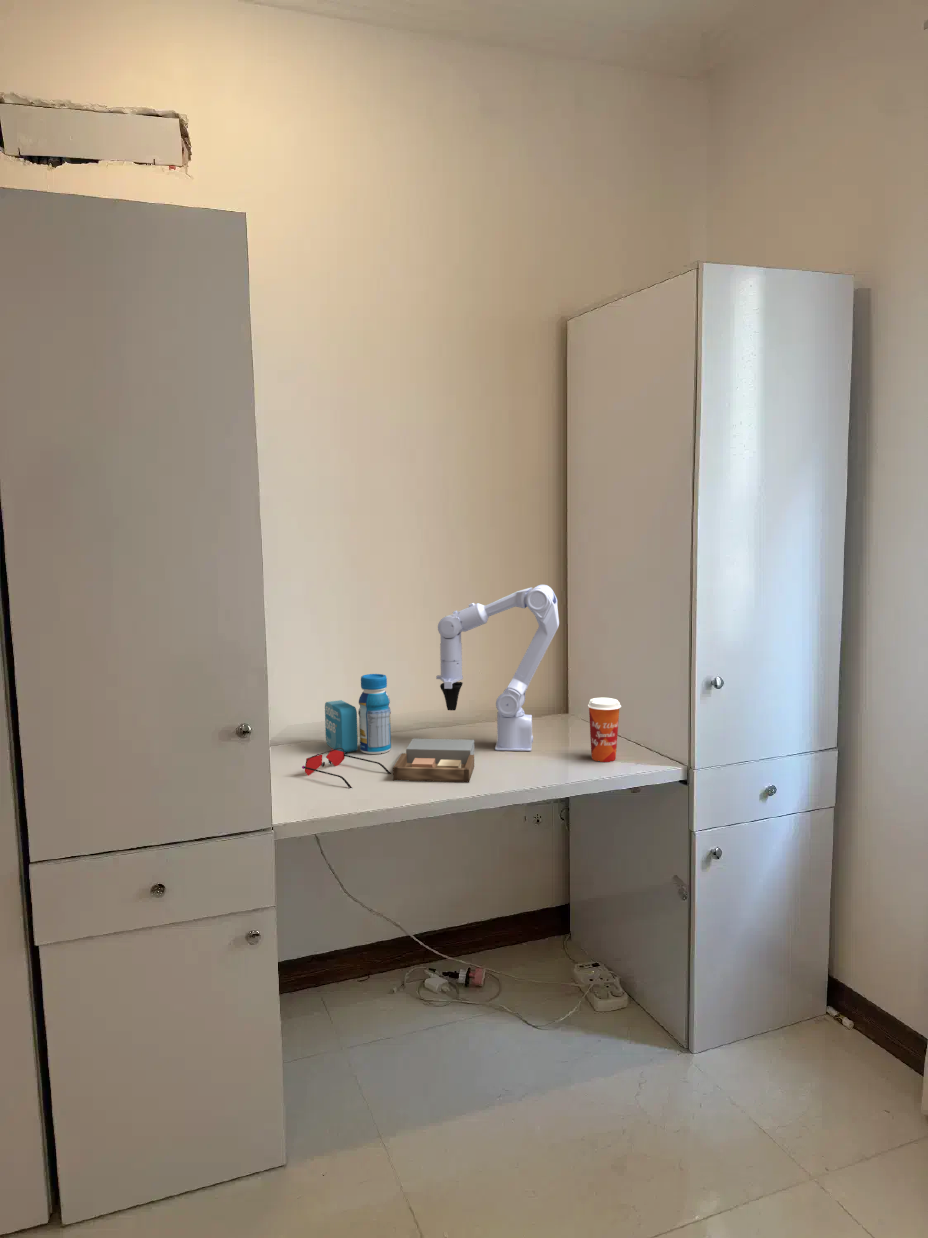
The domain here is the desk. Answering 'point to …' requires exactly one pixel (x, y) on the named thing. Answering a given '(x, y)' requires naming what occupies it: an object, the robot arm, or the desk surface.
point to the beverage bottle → (374, 715)
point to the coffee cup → (603, 728)
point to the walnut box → (432, 771)
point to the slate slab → (440, 749)
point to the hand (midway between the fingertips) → (451, 709)
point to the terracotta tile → (424, 762)
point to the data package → (341, 726)
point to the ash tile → (449, 764)
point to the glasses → (334, 758)
